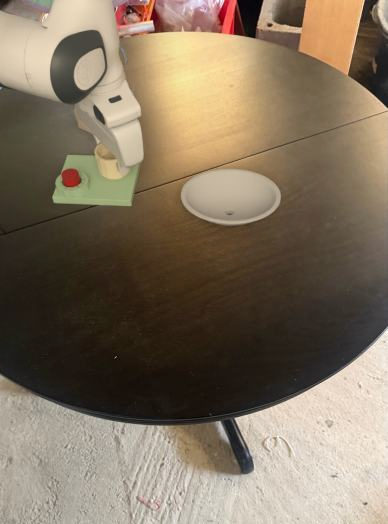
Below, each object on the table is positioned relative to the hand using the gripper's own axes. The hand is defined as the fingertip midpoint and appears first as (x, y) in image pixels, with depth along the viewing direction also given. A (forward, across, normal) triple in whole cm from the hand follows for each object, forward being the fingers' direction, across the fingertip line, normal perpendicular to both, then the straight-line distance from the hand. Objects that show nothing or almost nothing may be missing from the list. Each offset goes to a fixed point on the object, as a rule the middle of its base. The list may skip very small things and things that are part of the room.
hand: (113, 161), depth 91 cm
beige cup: (+2, 0, 0) cm, 2 cm away
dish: (+4, +22, +12) cm, 25 cm away
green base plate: (+4, 0, -4) cm, 5 cm away
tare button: (+1, 0, -9) cm, 9 cm away
